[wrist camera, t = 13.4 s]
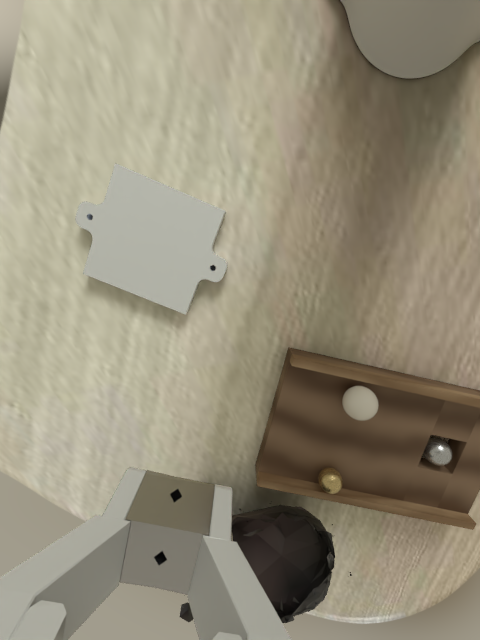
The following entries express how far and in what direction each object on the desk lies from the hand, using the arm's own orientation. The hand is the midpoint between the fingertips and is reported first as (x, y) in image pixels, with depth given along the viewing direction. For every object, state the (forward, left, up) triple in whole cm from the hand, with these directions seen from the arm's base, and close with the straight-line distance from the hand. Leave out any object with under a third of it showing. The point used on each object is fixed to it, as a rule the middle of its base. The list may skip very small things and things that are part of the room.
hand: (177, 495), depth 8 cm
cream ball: (+6, +18, -25) cm, 31 cm away
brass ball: (+18, +18, -25) cm, 36 cm away
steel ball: (+12, +32, -27) cm, 44 cm away
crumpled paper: (+28, +12, -29) cm, 43 cm away
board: (+12, +24, -29) cm, 40 cm away
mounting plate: (-6, -10, -30) cm, 32 cm away
